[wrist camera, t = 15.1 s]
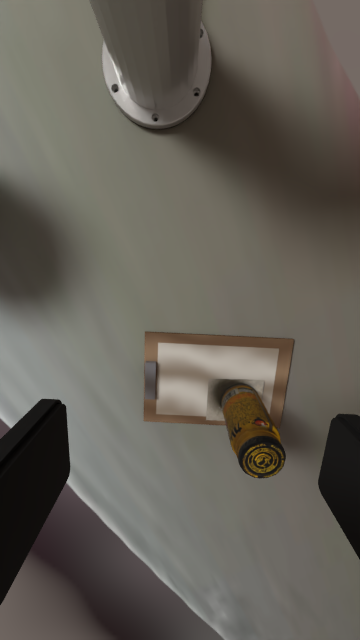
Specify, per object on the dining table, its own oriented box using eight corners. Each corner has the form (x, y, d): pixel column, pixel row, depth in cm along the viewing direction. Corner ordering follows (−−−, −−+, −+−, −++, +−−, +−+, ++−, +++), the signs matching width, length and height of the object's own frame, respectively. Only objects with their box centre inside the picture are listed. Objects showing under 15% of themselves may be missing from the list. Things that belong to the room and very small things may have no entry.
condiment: (258, 421, 40) (289, 487, 28) (205, 419, 40) (214, 484, 28) (263, 379, 38) (298, 432, 27) (208, 377, 38) (218, 429, 27)
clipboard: (145, 331, 37) (144, 333, 36) (292, 338, 37) (296, 341, 36) (144, 419, 41) (142, 424, 40) (278, 426, 41) (281, 431, 40)
